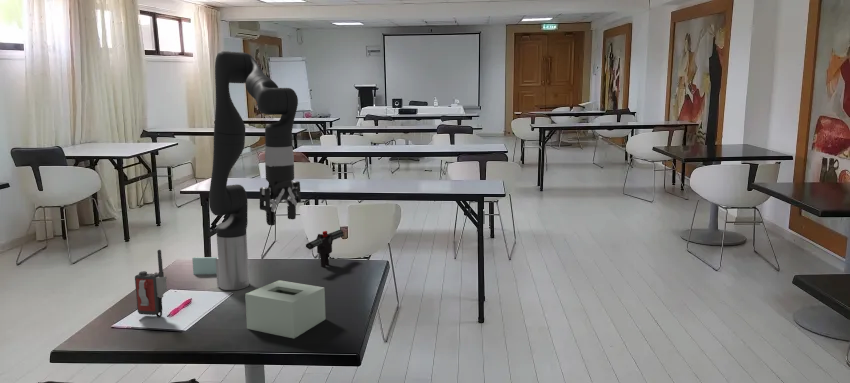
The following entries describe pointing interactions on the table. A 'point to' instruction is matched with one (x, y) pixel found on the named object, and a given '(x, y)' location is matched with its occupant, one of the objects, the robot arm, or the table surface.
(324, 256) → the black tube on stand
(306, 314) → the box
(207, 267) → the right angle wall
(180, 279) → the table surface
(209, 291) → the table surface
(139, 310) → the walkie-talkie
